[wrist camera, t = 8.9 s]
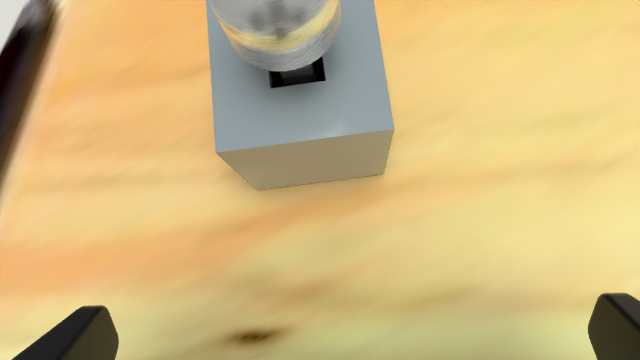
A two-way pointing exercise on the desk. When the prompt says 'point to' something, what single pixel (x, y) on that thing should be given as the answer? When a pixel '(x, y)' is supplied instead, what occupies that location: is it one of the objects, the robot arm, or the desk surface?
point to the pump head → (280, 33)
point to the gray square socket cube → (304, 109)
